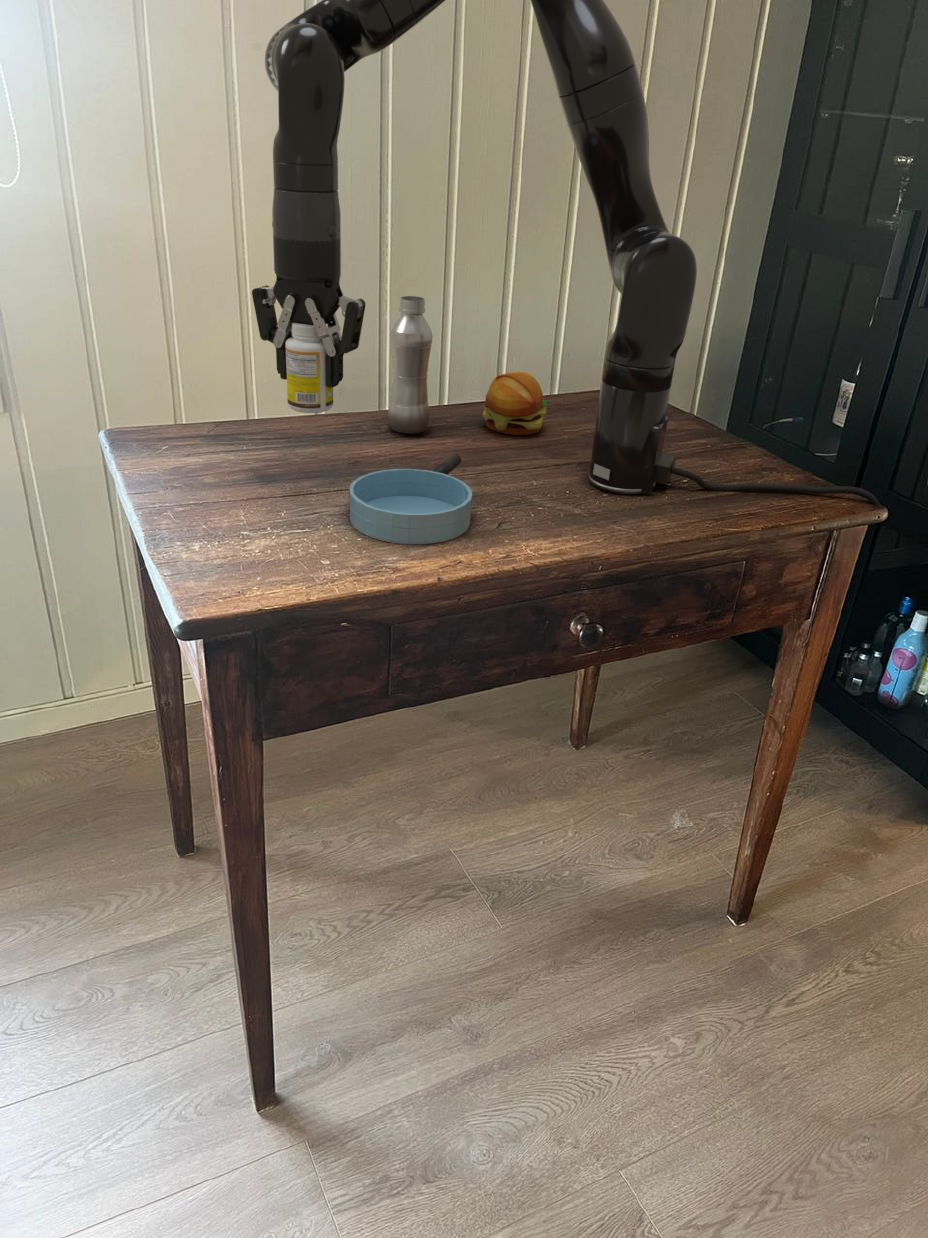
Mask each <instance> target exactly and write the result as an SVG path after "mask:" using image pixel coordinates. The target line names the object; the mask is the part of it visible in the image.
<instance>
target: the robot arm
mask: <svg viewBox="0 0 928 1238" xmlns="http://www.w3.org/2000/svg"><path fill="white" fill-rule="evenodd" d="M444 2H446V0H321V1H319V2H318V3H315V4H314V5H313V6H311V7H309V8H308V9H306V10H305V11H303V12H302V13H300V14H299V15H297V16H296V17H294V18H293V19H291V20H290V21H288V22H287V23H285V24H284V25H282V27H280V28H279V29H278V30H277V31H276V32H275V33H273V35H272V37H271V38H270V39H269V42H268V43H267V46H266V49H265V52H264V69H265V73H266V76H267V79H268V80H269V82H270V84H271V85H272V87H273V88H274V89H275V90H276V91H277V95H278V96H277V97H278V99H277V100H278V101H277V102H278V103H277V108H278V109H277V110H278V112H277V113H278V127H277V128H278V129H277V131H276V132H275V134H274V138H273V141H272V142H273V143H272V178H273V179H272V180H273V197H272V209H271V210H272V211H271V213H272V217H271V218H272V219H271V220H272V223H271V226H272V242H273V244H272V245H273V271H274V274H275V276H276V278H275V283H274V285H273V286H270V285H267V284H266V285H261V286H258V287H256V288H253V289H252V290H251V296H252V301H253V306H254V311H255V317H256V322H257V327H258V333H259V337H260V339H261V340H262V341H268V342H270V343H271V344H272V345H273V346H274V347H275V356H276V357H275V359H276V371H277V374H279V378H280V379H282V380H286V381H287V372H286V347H285V346H286V344H285V343H286V341H287V339H288V338H290V337H293V336H292V332H291V330H292V322H294V323H300V324H306V325H313V326H315V329H316V332H317V334H318V337H319V338H321V339H322V341H323V344H324V347H325V349H326V352H327V354H328V356H326V386H327V387H332V388H333V389H334V388H335V387H338V386H339V384H340V382H342V381H343V379H344V355H345V354H348V353H351V352H352V351H355V350H357V349H358V348H359V345H360V339H361V334H362V328H363V322H364V316H365V311H366V302H365V300H364V299H362V298H357V299H353V298H351V297H348V296H346V295H344V293H343V291H342V289H341V286H340V282H341V281H340V280H341V274H342V271H341V268H342V263H341V262H342V258H341V257H342V255H341V254H342V253H341V252H342V251H341V250H342V249H341V247H342V246H341V245H342V241H341V239H342V237H341V230H342V227H341V225H342V224H341V220H342V219H341V218H342V217H341V205H340V198H339V153H338V142H339V141H338V140H339V134H340V128H341V121H342V115H343V107H344V96H345V72H347V71H348V70H349V69H350V68H352V67H353V66H354V65H355V64H357V63H359V61H361V60H362V59H364V58H366V57H368V56H372V55H375V54H378V53H379V52H382V51H383V50H385V49H386V48H388V47H389V46H391V45H392V44H394V42H396V41H397V40H399V39H400V38H402V37H403V36H404V35H405V34H406V33H408V32H409V31H410V30H412V29H413V28H414V27H416V25H418V24H419V23H421V22H422V21H423V20H424V19H426V18H427V17H428V16H429V15H431V14H432V13H433V12H434V11H436V10H437V9H438V8H439V7H440V6H441V5H442V4H443V3H444ZM530 3H531V7H532V10H533V13H534V17H535V20H536V23H537V28H538V31H539V35H540V39H541V42H542V44H543V48H544V51H545V54H546V59H547V61H548V64H549V67H550V71H551V74H552V79H553V81H554V86H555V90H556V93H557V96H558V99H559V103H560V106H561V110H562V112H563V116H564V119H565V122H566V125H567V128H568V132H569V134H570V137H571V141H572V142H573V145H574V148H575V151H576V155H577V157H578V160H579V163H580V165H581V168H582V171H583V173H584V176H585V178H586V181H587V183H588V186H589V188H590V191H591V194H592V196H593V199H594V202H595V205H596V208H597V212H598V213H597V214H598V217H599V222H600V227H601V232H602V236H603V240H604V247H605V251H606V258H607V262H608V268H609V272H610V276H611V280H612V282H613V284H614V286H615V288H616V290H618V292H619V293H620V294H621V298H620V304H619V309H618V316H617V322H616V325H615V328H614V331H613V332H612V333H611V334H609V336H608V337H607V340H606V344H605V352H604V361H603V369H602V375H601V383H600V390H599V398H598V403H597V404H598V405H597V412H596V419H595V427H594V436H593V443H592V450H591V458H590V462H589V463H590V464H589V470H588V474H587V480H588V482H589V483H590V484H591V485H592V486H593V487H595V488H598V489H600V490H602V491H606V492H610V493H614V494H619V495H620V494H621V495H646V496H650V495H651V493H652V491H653V490H654V489H655V488H656V485H657V484H662V485H667V483H668V482H669V480H670V478H671V477H672V474H673V475H675V476H679V477H682V478H686V479H689V480H692V481H694V482H695V483H696V484H697V485H698V486H699V487H701V489H705V490H708V491H714V492H739V491H740V492H743V491H745V492H746V491H766V492H789V493H790V492H791V493H804V494H817V495H818V494H819V495H825V494H827V495H828V494H855V495H857V496H861V497H863V498H865V499H867V501H869V502H870V503H871V504H872V505H876V506H879V505H881V503H880V502H879V500H878V498H877V497H876V496H875V495H874V494H873V493H871V492H870V491H868V490H866V489H864V488H861V487H857V486H848V485H847V486H846V485H844V486H843V485H841V486H808V485H795V484H772V483H771V484H770V483H741V484H740V483H739V484H715V483H711V482H707V481H705V480H704V478H702V477H700V475H698V474H696V473H693V472H691V471H688V470H685V469H682V468H678V467H675V465H676V457H677V454H672V453H665V452H663V450H664V445H665V439H666V435H667V427H668V422H669V417H668V416H667V414H668V413H667V412H668V407H669V402H670V401H669V400H670V394H671V388H672V383H673V377H674V371H675V366H676V365H675V364H676V360H677V355H678V352H679V350H680V348H681V347H682V345H683V343H684V341H685V337H686V334H687V329H688V325H689V320H690V316H691V310H692V306H693V301H694V295H695V291H696V285H697V283H696V282H697V273H698V266H697V259H696V255H695V253H694V250H693V249H692V247H691V246H690V245H689V244H688V242H687V241H685V240H684V239H683V238H681V237H679V236H678V235H675V234H673V233H671V232H670V231H669V229H668V226H667V224H666V222H665V220H664V217H663V214H662V212H661V208H660V205H659V203H658V200H657V196H656V193H655V190H654V187H653V182H652V177H651V170H650V148H649V147H650V140H649V137H650V135H649V119H648V110H647V106H646V105H647V104H646V100H645V95H644V91H643V86H642V83H641V79H640V75H639V72H638V68H637V64H636V61H635V57H634V54H633V51H632V47H631V45H630V43H629V41H628V39H627V36H626V35H625V33H624V31H623V29H622V28H621V25H620V24H619V22H618V21H617V19H616V17H615V16H614V14H613V13H612V11H611V10H610V8H609V7H608V5H607V4H606V2H605V0H530ZM276 301H277V302H278V304H279V306H280V307H281V309H282V310H281V313H280V316H279V319H278V317H277V312H276V306H275V304H276ZM339 308H341V315H342V317H343V318H344V319H343V327H342V333H341V326H340V322H339V320H338V318H337V314H336V313H337V311H338V310H339Z"/></svg>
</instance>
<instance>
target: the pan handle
mask: <svg viewBox="0 0 928 1238" xmlns="http://www.w3.org/2000/svg"><path fill="white" fill-rule="evenodd" d="M461 463H462V457H461V455H459V454H458V453H454V454H451V455H450V456H449V457H448V458H446V459H445V460H444V461H442V463H440V464H439V465H438V466H436V467H435V468H434V469H432V471H434V472H439V473H443V474H446V475H449V474H450V473H451V472H453V470H454V469H456V468H457V467H458V466H459V465H461Z"/></svg>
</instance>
